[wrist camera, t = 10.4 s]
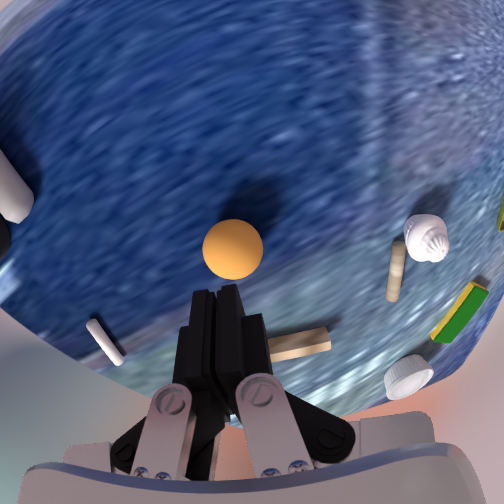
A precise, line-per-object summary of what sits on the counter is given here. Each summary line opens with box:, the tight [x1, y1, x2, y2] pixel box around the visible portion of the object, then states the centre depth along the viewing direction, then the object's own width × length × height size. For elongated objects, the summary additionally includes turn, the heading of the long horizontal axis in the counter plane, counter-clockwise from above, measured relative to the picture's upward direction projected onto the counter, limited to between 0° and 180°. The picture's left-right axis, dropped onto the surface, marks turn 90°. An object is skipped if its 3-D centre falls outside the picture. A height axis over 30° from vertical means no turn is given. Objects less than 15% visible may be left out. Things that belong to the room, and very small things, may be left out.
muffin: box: [404, 214, 449, 262], centre depth 29 cm, size 6×6×7 cm
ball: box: [203, 219, 263, 279], centre depth 28 cm, size 6×6×6 cm
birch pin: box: [386, 240, 407, 302], centre depth 34 cm, size 2×2×9 cm
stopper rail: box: [268, 326, 331, 362], centre depth 39 cm, size 18×2×3 cm, turn 101°
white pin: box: [86, 319, 124, 366], centre depth 37 cm, size 2×2×9 cm
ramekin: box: [384, 354, 434, 400], centre depth 48 cm, size 11×11×5 cm
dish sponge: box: [430, 281, 489, 343], centre depth 42 cm, size 7×14×2 cm, turn 160°
